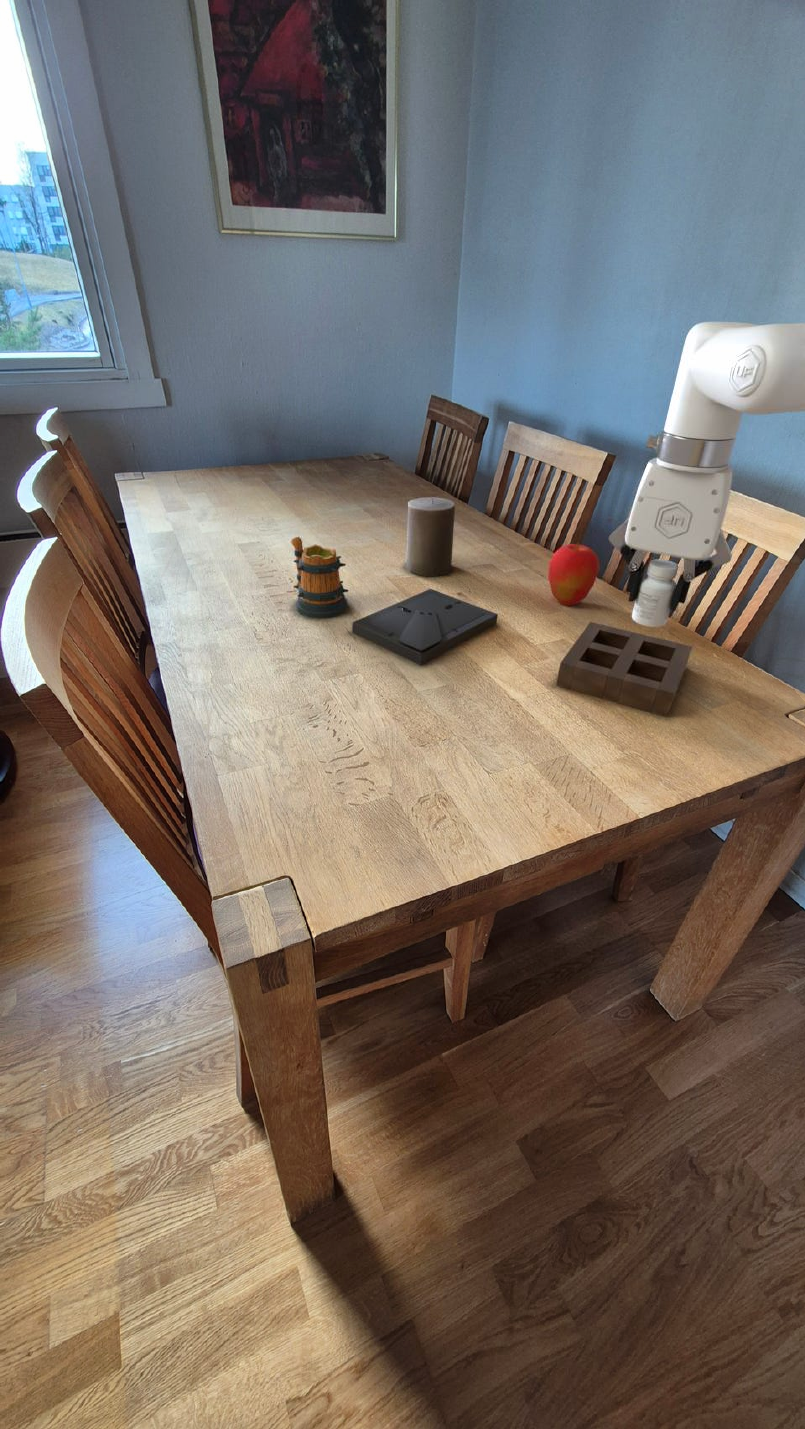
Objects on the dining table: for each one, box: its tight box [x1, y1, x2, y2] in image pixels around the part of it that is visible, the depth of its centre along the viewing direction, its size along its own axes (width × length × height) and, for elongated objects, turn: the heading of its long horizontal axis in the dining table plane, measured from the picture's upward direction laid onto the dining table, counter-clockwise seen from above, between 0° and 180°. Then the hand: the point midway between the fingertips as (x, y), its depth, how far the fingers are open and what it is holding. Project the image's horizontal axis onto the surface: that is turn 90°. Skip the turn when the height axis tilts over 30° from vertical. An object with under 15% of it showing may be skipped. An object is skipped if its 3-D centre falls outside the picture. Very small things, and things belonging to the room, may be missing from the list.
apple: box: [547, 541, 600, 607], centre depth 118 cm, size 9×9×12 cm
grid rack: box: [555, 621, 693, 718], centre depth 97 cm, size 16×16×4 cm
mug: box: [290, 536, 349, 619], centre depth 114 cm, size 13×10×12 cm
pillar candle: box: [405, 496, 456, 577], centre depth 130 cm, size 10×10×15 cm
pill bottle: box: [631, 558, 679, 628], centre depth 80 cm, size 4×4×8 cm
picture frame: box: [351, 588, 499, 666], centre depth 110 cm, size 16×3×21 cm
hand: (653, 601), depth 80 cm, fingers closed on pill bottle, 4 cm apart
